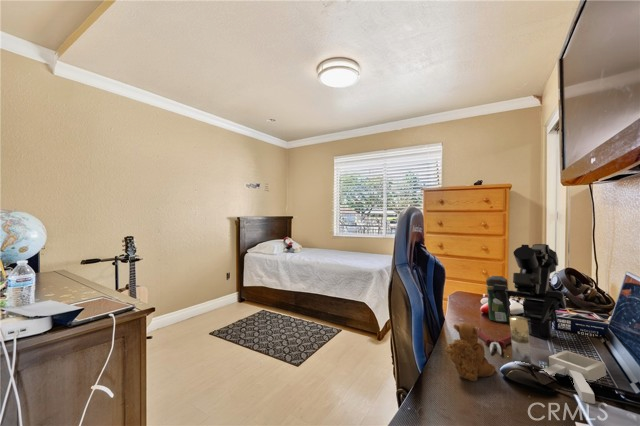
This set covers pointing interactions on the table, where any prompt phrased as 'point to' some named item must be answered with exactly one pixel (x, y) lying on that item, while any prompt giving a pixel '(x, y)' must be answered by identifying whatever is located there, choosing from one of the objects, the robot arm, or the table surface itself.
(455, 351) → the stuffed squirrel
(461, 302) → the table surface
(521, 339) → the coupler
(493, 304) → the coffee jar
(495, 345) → the pliers
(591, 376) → the socket
